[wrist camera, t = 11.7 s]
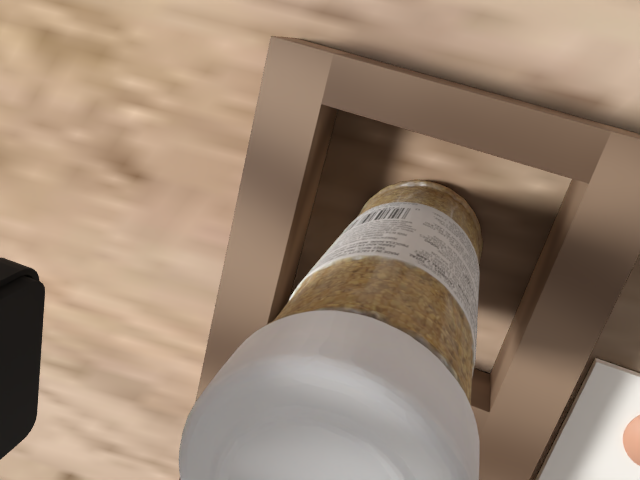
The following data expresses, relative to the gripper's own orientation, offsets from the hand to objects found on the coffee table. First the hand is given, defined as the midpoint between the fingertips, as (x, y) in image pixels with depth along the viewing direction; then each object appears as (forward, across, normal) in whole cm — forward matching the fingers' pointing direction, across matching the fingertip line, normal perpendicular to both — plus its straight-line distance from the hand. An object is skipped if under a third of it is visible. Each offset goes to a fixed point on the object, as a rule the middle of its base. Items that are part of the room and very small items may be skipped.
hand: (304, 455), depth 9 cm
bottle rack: (+13, -1, +6) cm, 14 cm away
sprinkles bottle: (+13, -1, +1) cm, 13 cm away
